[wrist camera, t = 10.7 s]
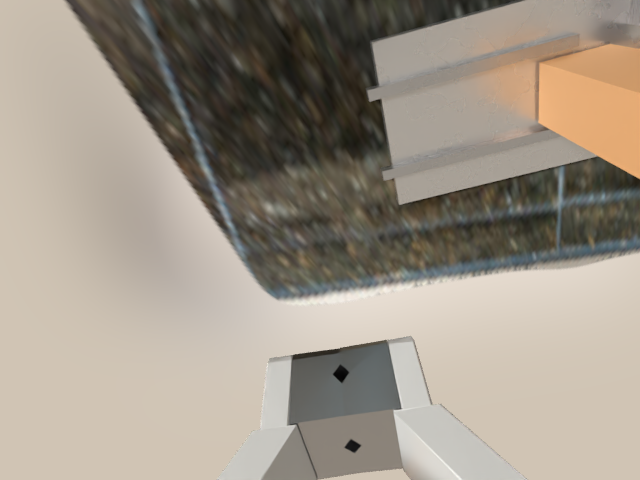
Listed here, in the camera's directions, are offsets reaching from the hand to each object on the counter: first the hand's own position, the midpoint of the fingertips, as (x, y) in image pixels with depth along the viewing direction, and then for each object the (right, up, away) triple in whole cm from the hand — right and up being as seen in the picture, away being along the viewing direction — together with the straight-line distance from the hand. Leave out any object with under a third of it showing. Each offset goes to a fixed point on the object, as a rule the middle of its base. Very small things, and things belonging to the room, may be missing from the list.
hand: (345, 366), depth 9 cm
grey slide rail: (+14, +14, +24) cm, 31 cm away
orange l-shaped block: (+21, +15, +23) cm, 34 cm away
